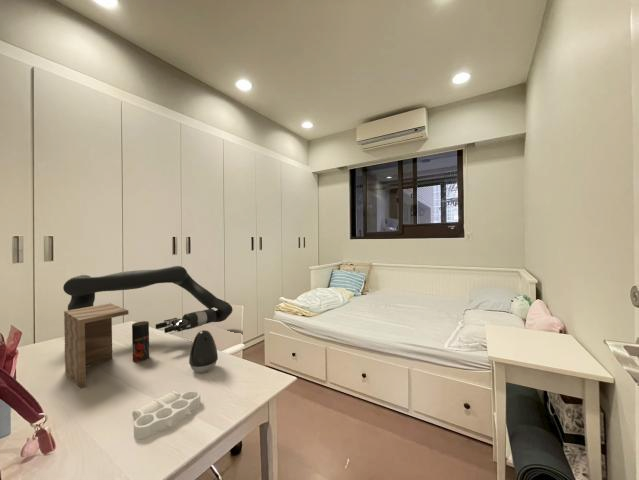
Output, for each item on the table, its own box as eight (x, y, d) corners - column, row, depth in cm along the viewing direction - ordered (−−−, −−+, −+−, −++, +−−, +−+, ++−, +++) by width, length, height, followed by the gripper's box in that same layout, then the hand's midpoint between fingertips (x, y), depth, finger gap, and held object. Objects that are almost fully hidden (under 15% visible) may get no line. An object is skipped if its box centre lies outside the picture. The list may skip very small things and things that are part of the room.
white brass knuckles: (182, 393, 89) (210, 408, 81) (119, 426, 73) (146, 448, 66) (181, 383, 89) (210, 397, 81) (118, 414, 73) (146, 434, 66)
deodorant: (152, 355, 116) (152, 321, 116) (142, 362, 110) (141, 326, 110) (139, 355, 117) (139, 321, 116) (129, 361, 111) (128, 325, 111)
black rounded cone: (194, 379, 96) (193, 337, 96) (186, 369, 104) (185, 330, 104) (222, 370, 103) (221, 331, 103) (212, 360, 111) (212, 324, 111)
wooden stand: (65, 372, 102) (64, 311, 102) (111, 357, 114) (110, 303, 114) (80, 388, 91) (78, 320, 91) (129, 370, 103) (128, 310, 103)
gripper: (187, 309, 137) (153, 317, 124) (202, 314, 129) (167, 323, 115) (187, 324, 137) (153, 333, 124) (202, 330, 129) (167, 340, 116)
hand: (160, 328), depth 120 cm, fingers open, 8 cm apart
